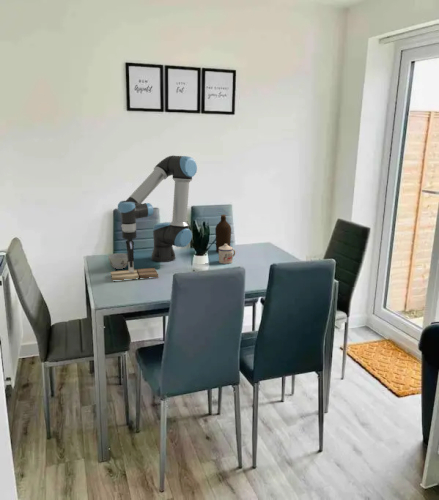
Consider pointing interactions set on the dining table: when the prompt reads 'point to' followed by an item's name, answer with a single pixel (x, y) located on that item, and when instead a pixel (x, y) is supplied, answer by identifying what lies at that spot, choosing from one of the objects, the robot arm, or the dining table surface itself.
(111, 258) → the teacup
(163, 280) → the dining table surface
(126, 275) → the oak plank
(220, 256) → the teacup with lid
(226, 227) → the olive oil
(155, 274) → the walnut floor section
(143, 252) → the dining table surface
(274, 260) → the dining table surface
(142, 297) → the dining table surface
